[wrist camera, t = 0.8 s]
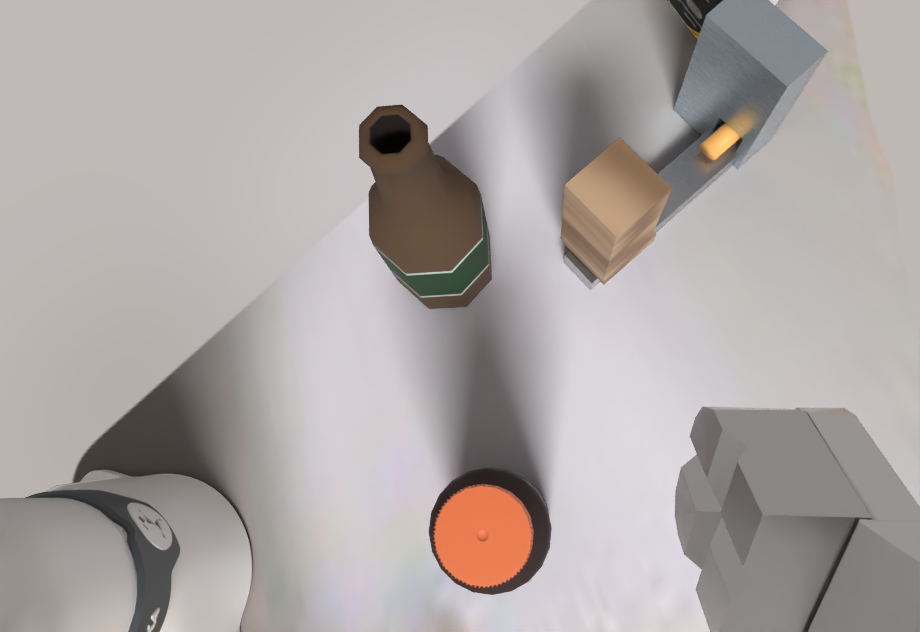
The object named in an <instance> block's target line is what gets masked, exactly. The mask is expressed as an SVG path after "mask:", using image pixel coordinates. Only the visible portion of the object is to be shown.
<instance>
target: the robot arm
mask: <svg viewBox="0 0 920 632" xmlns="http://www.w3.org/2000/svg"><path fill="white" fill-rule="evenodd" d="M690 437H691V440H692V443H693V445H694V448H695V450H696V453H697V455H696V456H694V457H693V458H692V459H691V460H690V461H688V462H687V463H686V464H685V465H684V466H682V467H681V470H680V475H679V479H678V483H677V487H676V495H675V518H676V524H677V530H678V536H679V539H680V542H681V545H682V549H683V552H684V554H685V555H686V556H687V557H688V558H689V559H690V560H692V561H693V562H694V563H695V564H696V565H697V566H698V567H700V568H701V569H702V571H701V574H700V577H699V581H698V584H697V587H696V591H697V594H698V597H699V600H700V603H701V606H702V609H703V612H704V615H705V617H706V620H707V623H708V626H709V629H710V632H920V506H919V505H918V504H917V502H916V501H915V499H914V498H913V497H912V495H911V494H910V492H909V491H908V489H907V488H906V487H905V485H904V484H903V482H902V481H901V479H900V478H899V477H898V475H897V474H896V472H895V471H894V470H893V468H892V467H891V465H890V464H889V462H888V461H887V460H886V458H885V457H884V455H883V454H882V452H881V451H880V450H879V448H878V447H877V445H876V444H875V443H874V441H873V440H872V438H871V437H870V435H869V434H868V433H867V431H866V430H865V428H864V427H863V425H862V424H861V423H860V421H859V420H858V418H857V417H856V416H855V415H854V414H853V413H851V412H849V411H848V410H846V409H844V408H796V409H769V408H732V407H702V408H701V410H700V411H699V413H698V414H697V416H696V417H695V421H694V424H693V427H692V431H691V434H690ZM251 577H252V557H251V549H250V544H249V540H248V536H247V533H246V530H245V528H244V526H243V523H242V521H241V519H240V517H239V516H238V514H237V512H236V511H235V510H234V508H233V507H232V505H231V504H230V503H229V502H228V501H227V500H226V499H225V498H224V497H223V496H222V495H221V494H220V493H219V492H218V491H216V490H215V489H214V488H212V487H211V486H209V485H207V484H206V483H204V482H202V481H200V480H197V479H195V478H192V477H188V476H184V475H179V474H154V475H147V476H138V477H131V476H128V475H125V474H122V473H118V472H115V471H111V470H96V471H91V472H89V473H88V474H86V475H85V476H84V477H83V478H82V480H81V481H80V482H78V483H71V484H65V485H58V486H55V487H52V488H51V489H49V490H48V491H47V492H42V493H38V494H34V495H31V496H29V497H26V498H5V499H0V632H240V623H241V618H242V614H243V611H244V608H245V605H246V602H247V598H248V595H249V591H250V585H251Z"/></svg>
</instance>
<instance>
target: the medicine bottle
mask: <svg viewBox="0 0 920 632" xmlns="http://www.w3.org/2000/svg"><path fill="white" fill-rule="evenodd" d="M667 1H668V2H669V4H670V5H671V6H672V7H673V9H674V10H675V11H676V13H677V14H678V15H679V16H680V18H681V19H682V20H683V22H684V23H685V24H686V25H687V27H688V28H689V29H690V31H691V32H692V33H693V35H694V36H695V37H696V38H697V40H698V37H699V34H700V31H701V29H702V26H703V23H704V20H705V17H706V15H707V14H708V13H709V12H710V11H711V10H712V9H714V8H715V7H716V6H717V5H718V4H719V3H721V2H722V1H723V0H667ZM769 1H770V2H771V3H773V4H774V5H776V4H777V3H778V1H779V0H769Z"/></svg>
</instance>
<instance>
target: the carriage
mask: <svg viewBox="0 0 920 632" xmlns="http://www.w3.org/2000/svg"><path fill="white" fill-rule="evenodd" d="M671 190H672V187H670V186H669V185H668V184H667V183H666V182H665V181H664V180H663V179H662V178H661V177H660V176H659V175H658V174H657V173H656V172H655V171H654V170H653V169H652V168H651V167H650V166H649V165H648V164H647V163H646V162H645V161H644V160H643V159H642V158H641V157H640V156H638V155H637V154H636V153H635V152H634V151H633V150H632V149H631V148H630V147H629V146H628V145H627V144H626V143H625V142H624V141H623V140H622V139H621V138H620V137H619V138H618V139H617V140H616V141H615V142H614V143H612V144H611V145H610V146H609V147H608V148H607V149H605V150H604V151H603V152H602V153H601V154H600V155H599V156H597V157H596V158H595V159H594V160H593V161H592V162H590V163H589V164H588V165H587V166H586V167H585V168H584V169H582V170H581V171H580V172H579V173H578V174H577V175H575V176H574V177H573V178H572V179H571V180H570V181H568V182H567V183H566V184H565V187H564V201H563V215H562V229H561V239H562V240H563V243H564V244H565V245H566V246H567V247H568V248H569V249H570V250H571V251H572V252H573V253H574V254H575V255H576V257H577V258H578V259H579V260H580V261H581V262H582V263H583V264H584V265H585V266H586V267H587V268H588V269H589V270H590V271H591V272H592V273H593V274H594V275H595V276H596V277H597V278H598V279H599V280H600V281H601V282H602V283H603V285H604V284H605V283H606V282H607V281H608V280H610V279H611V278H612V277H613V276H614V275H615V274H616V273H618V272H619V271H620V270H621V269H622V268H623V267H624V266H626V265H627V264H628V263H629V262H630V261H631V260H632V259H633V258H635V257H636V256H637V255H638V254H639V253H640V252H641V251H643V250H644V249H645V248H646V247H647V246H648V245H649V244H651V243H652V242H653V241H654V239H655V236H656V234H655V233H654V229H655V227H656V225H657V222H658V220H659V218H660V215H661V213H662V211H663V208H664V206H665V205H666V202H667V200H668V197H669V194H670V192H671Z"/></svg>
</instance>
